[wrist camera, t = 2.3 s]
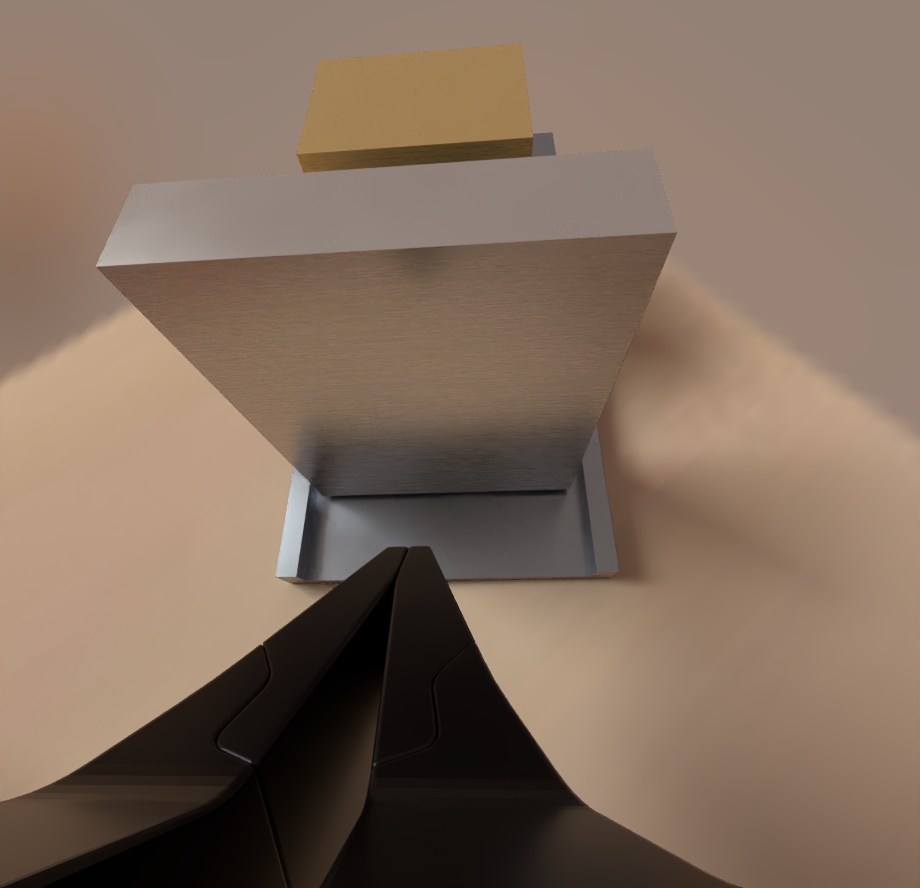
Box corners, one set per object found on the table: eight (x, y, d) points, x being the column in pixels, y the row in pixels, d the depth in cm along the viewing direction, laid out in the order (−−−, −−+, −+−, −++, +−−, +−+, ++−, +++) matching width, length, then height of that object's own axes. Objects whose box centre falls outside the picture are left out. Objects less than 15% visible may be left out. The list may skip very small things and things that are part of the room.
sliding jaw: (570, 489, 16) (677, 232, 7) (322, 496, 17) (95, 266, 7) (564, 439, 17) (652, 147, 8) (329, 447, 18) (134, 184, 8)
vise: (610, 577, 16) (662, 536, 11) (290, 582, 16) (204, 546, 12) (562, 242, 23) (580, 127, 18) (340, 255, 23) (300, 147, 19)
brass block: (517, 357, 19) (533, 137, 11) (377, 363, 20) (296, 154, 12) (511, 278, 21) (521, 43, 13) (384, 285, 22) (319, 60, 14)
